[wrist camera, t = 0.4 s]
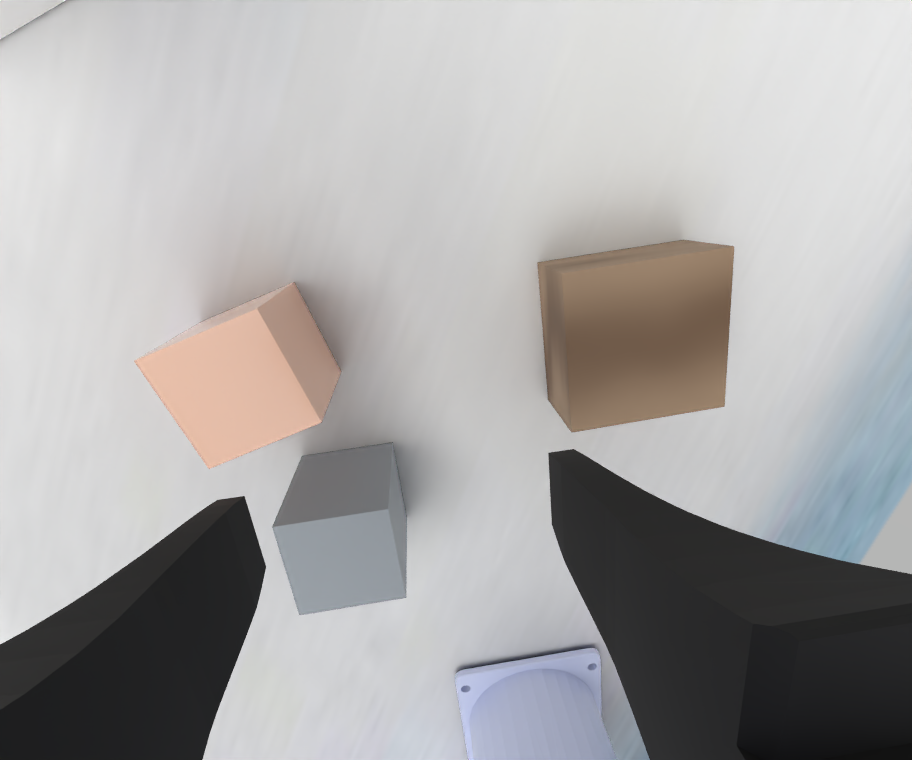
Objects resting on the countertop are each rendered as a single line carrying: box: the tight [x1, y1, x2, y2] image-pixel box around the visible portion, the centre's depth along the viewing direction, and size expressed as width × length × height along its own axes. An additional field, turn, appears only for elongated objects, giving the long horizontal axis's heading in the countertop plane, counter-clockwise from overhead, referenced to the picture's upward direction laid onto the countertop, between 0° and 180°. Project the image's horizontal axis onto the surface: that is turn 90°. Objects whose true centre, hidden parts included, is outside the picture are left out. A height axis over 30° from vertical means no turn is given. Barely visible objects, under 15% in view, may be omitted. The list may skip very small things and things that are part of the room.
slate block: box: [272, 442, 407, 615], centre depth 20 cm, size 4×4×5 cm
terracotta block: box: [134, 282, 341, 469], centre depth 17 cm, size 4×4×5 cm
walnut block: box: [538, 240, 734, 432], centre depth 19 cm, size 6×6×4 cm
